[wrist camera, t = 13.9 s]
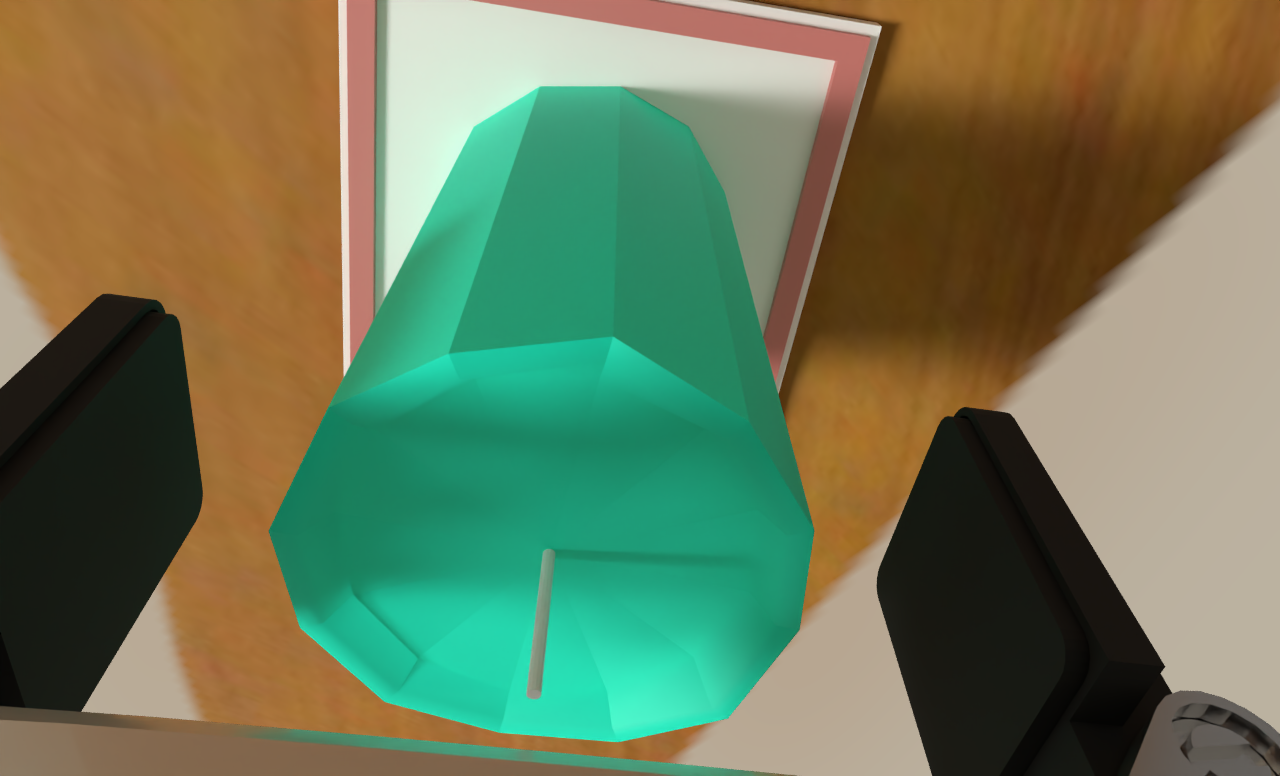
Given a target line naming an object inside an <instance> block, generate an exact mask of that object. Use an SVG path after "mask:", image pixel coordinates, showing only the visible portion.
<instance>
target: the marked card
mask: <svg viewBox="0 0 1280 776" xmlns="http://www.w3.org/2000/svg"><path fill="white" fill-rule="evenodd" d="M338 5H339V74H340V143H341V212H342V281H343V350H344V376H345V374H346V372H347V370H348V368H349V367H350V365H351V363H352V361H353V359H354V357H355V355H356V353H357V351H358V349H359V347H360V345H361V343H362V341H363V339H364V338H365V336H366V334H367V332H368V330H369V328H370V326H371V324H372V322H373V320H374V318H375V316H376V314H377V312H378V311H379V309H380V307H381V305H382V303H383V301H384V299H385V297H386V295H387V293H388V291H389V289H390V287H391V285H392V283H393V282H394V280H395V278H396V276H397V274H398V272H399V270H400V268H401V266H402V264H403V262H404V260H405V258H406V256H407V255H408V253H409V251H410V249H411V247H412V245H413V243H414V241H415V239H416V237H417V235H418V233H419V231H420V229H421V227H422V226H423V224H424V222H425V220H426V218H427V216H428V214H429V212H430V210H431V208H432V206H433V204H434V202H435V200H436V199H437V197H438V195H439V193H440V191H441V189H442V187H443V185H444V183H445V181H446V179H447V177H448V175H449V173H450V171H451V170H452V168H453V166H454V164H455V162H456V160H457V158H458V156H459V154H460V152H461V150H462V148H463V146H464V144H465V143H466V141H467V139H468V137H469V135H470V133H471V131H472V129H473V127H474V126H476V125H477V124H479V123H481V122H482V121H484V120H485V119H487V118H489V117H490V116H492V115H494V114H495V113H497V112H499V111H500V110H502V109H503V108H505V107H507V106H508V105H510V104H512V103H513V102H515V101H517V100H518V99H520V98H522V97H523V96H525V95H526V94H528V93H530V92H531V91H533V90H535V89H536V88H538V87H540V86H621V87H623V88H624V89H626V90H628V91H629V92H631V93H633V94H635V95H636V96H638V97H640V98H641V99H643V100H645V101H646V102H648V103H650V104H651V105H653V106H655V107H657V108H658V109H660V110H662V111H663V112H665V113H667V114H668V115H670V116H672V117H674V118H675V119H677V120H679V121H680V122H682V123H684V124H685V125H687V126H689V127H690V129H691V131H692V133H693V135H694V137H695V138H696V140H697V142H698V144H699V146H700V148H701V149H702V151H703V153H704V155H705V157H706V159H707V161H708V162H709V164H710V166H711V168H712V170H713V172H714V173H715V175H716V177H717V179H718V181H719V183H720V184H721V186H722V188H723V190H724V192H725V195H726V199H727V202H728V206H729V210H730V214H731V218H732V221H733V225H734V229H735V233H736V236H737V240H738V244H739V248H740V252H741V255H742V259H743V263H744V267H745V270H746V274H747V278H748V282H749V286H750V289H751V293H752V297H753V301H754V304H755V308H756V312H757V316H758V320H759V323H760V327H761V331H762V335H763V338H764V342H765V346H766V350H767V354H768V357H769V361H770V365H771V369H772V372H773V376H774V380H775V384H776V388H777V391H778V394H779V391H780V387H781V383H782V380H783V376H784V373H785V369H786V366H787V362H788V359H789V355H790V351H791V348H792V344H793V341H794V337H795V334H796V330H797V326H798V323H799V319H800V316H801V312H802V309H803V305H804V302H805V298H806V294H807V291H808V287H809V284H810V280H811V277H812V273H813V270H814V266H815V262H816V259H817V255H818V252H819V248H820V245H821V241H822V238H823V234H824V230H825V227H826V223H827V220H828V216H829V213H830V209H831V205H832V202H833V198H834V195H835V191H836V188H837V184H838V181H839V177H840V173H841V170H842V166H843V163H844V159H845V156H846V152H847V149H848V145H849V141H850V138H851V134H852V131H853V127H854V124H855V120H856V117H857V113H858V109H859V106H860V102H861V99H862V95H863V92H864V88H865V85H866V81H867V77H868V74H869V70H870V67H871V63H872V60H873V56H874V52H875V49H876V45H877V42H878V38H879V35H880V31H881V28H882V26H881V25H879V24H878V23H876V22H871V21H865V20H859V19H853V18H847V17H841V16H835V15H830V14H824V13H818V12H812V11H806V10H800V9H794V8H789V7H783V6H777V5H771V4H765V3H759V2H753V1H748V0H338Z"/></svg>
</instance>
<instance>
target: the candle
mask: <svg viewBox="0 0 1280 776" xmlns="http://www.w3.org/2000/svg"><path fill="white" fill-rule="evenodd" d="M269 534H270V537H271V540H272V543H273V546H274V549H275V552H276V555H277V558H278V561H279V564H280V567H281V571H282V574H283V577H284V580H285V583H286V586H287V589H288V592H289V595H290V598H291V601H292V604H293V607H294V610H295V614H296V617H297V620H298V623H299V626H300V628H301V629H302V630H303V631H304V632H306V633H307V634H308V635H309V636H310V637H311V638H312V639H314V640H315V641H316V642H317V643H318V644H319V645H320V646H322V647H323V648H324V649H325V650H326V651H327V652H328V653H330V654H331V655H332V656H333V657H334V658H335V659H336V660H338V661H339V662H340V663H341V664H342V665H343V666H344V667H346V668H347V669H348V670H349V671H350V672H351V673H352V674H354V675H355V676H356V677H357V678H358V679H359V680H360V681H362V682H363V683H364V684H365V685H366V686H367V687H368V688H370V689H371V690H372V691H373V692H374V693H375V694H376V695H378V696H379V697H380V698H381V699H382V700H383V701H384V702H387V703H391V704H395V705H398V706H402V707H406V708H410V709H413V710H417V711H421V712H424V713H428V714H432V715H436V716H439V717H443V718H447V719H451V720H454V721H458V722H462V723H466V724H469V725H473V726H477V727H480V728H484V729H488V730H492V731H495V732H499V733H511V734H524V735H536V736H549V737H561V738H574V739H586V740H599V741H611V742H621V741H626V740H630V739H635V738H640V737H644V736H649V735H654V734H658V733H663V732H668V731H672V730H677V729H682V728H686V727H691V726H696V725H700V724H705V723H710V722H714V721H719V720H724V719H728V718H729V716H730V715H731V714H732V713H733V711H734V710H735V709H736V708H737V707H738V705H739V704H740V703H741V701H742V700H743V699H744V698H745V697H746V695H747V694H748V693H749V692H750V690H751V689H752V688H753V687H754V686H755V684H756V683H757V682H758V681H759V679H760V678H761V677H762V676H763V674H764V673H765V672H766V671H767V669H768V668H769V667H770V666H771V665H772V663H773V662H774V661H775V660H776V658H777V657H778V656H779V655H780V653H781V652H782V651H783V650H784V648H785V647H786V646H787V645H788V644H789V642H790V641H791V640H792V639H793V637H794V636H795V635H796V634H797V632H798V631H799V630H800V623H801V616H802V610H803V603H804V596H805V590H806V583H807V576H808V570H809V563H810V556H811V550H812V543H813V536H814V527H813V524H812V520H811V516H810V512H809V508H808V505H807V501H806V497H805V493H804V490H803V486H802V482H801V478H800V474H799V471H798V467H797V463H796V459H795V456H794V452H793V448H792V444H791V440H790V437H789V433H788V429H787V425H786V422H785V418H784V414H783V410H782V406H781V403H780V399H779V395H778V391H777V388H776V384H775V380H774V376H773V372H772V369H771V365H770V361H769V357H768V354H767V350H766V346H765V342H764V338H763V335H762V331H761V327H760V323H759V320H758V316H757V312H756V308H755V304H754V301H753V297H752V293H751V289H750V286H749V282H748V278H747V274H746V270H745V267H744V263H743V259H742V255H741V252H740V248H739V244H738V240H737V236H736V233H735V229H734V225H733V221H732V218H731V214H730V210H729V206H728V202H727V199H726V195H725V192H724V190H723V188H722V186H721V184H720V183H719V181H718V179H717V177H716V175H715V173H714V172H713V170H712V168H711V166H710V164H709V162H708V161H707V159H706V157H705V155H704V153H703V151H702V149H701V148H700V146H699V144H698V142H697V140H696V138H695V137H694V135H693V133H692V131H691V129H690V127H689V126H687V125H685V124H684V123H682V122H680V121H679V120H677V119H675V118H674V117H672V116H670V115H668V114H667V113H665V112H663V111H662V110H660V109H658V108H657V107H655V106H653V105H651V104H650V103H648V102H646V101H645V100H643V99H641V98H640V97H638V96H636V95H635V94H633V93H631V92H629V91H628V90H626V89H624V88H623V87H621V86H540V87H538V88H536V89H535V90H533V91H531V92H530V93H528V94H526V95H525V96H523V97H522V98H520V99H518V100H517V101H515V102H513V103H512V104H510V105H508V106H507V107H505V108H503V109H502V110H500V111H499V112H497V113H495V114H494V115H492V116H490V117H489V118H487V119H485V120H484V121H482V122H481V123H479V124H477V125H476V126H474V127H473V129H472V131H471V133H470V135H469V137H468V139H467V141H466V143H465V144H464V146H463V148H462V150H461V152H460V154H459V156H458V158H457V160H456V162H455V164H454V166H453V168H452V170H451V171H450V173H449V175H448V177H447V179H446V181H445V183H444V185H443V187H442V189H441V191H440V193H439V195H438V197H437V199H436V200H435V202H434V204H433V206H432V208H431V210H430V212H429V214H428V216H427V218H426V220H425V222H424V224H423V226H422V227H421V229H420V231H419V233H418V235H417V237H416V239H415V241H414V243H413V245H412V247H411V249H410V251H409V253H408V255H407V256H406V258H405V260H404V262H403V264H402V266H401V268H400V270H399V272H398V274H397V276H396V278H395V280H394V282H393V283H392V285H391V287H390V289H389V291H388V293H387V295H386V297H385V299H384V301H383V303H382V305H381V307H380V309H379V311H378V312H377V314H376V316H375V318H374V320H373V322H372V324H371V326H370V328H369V330H368V332H367V334H366V336H365V338H364V339H363V341H362V343H361V345H360V347H359V349H358V351H357V353H356V355H355V357H354V359H353V361H352V363H351V365H350V367H349V368H348V370H347V372H346V374H345V376H344V378H343V380H342V382H341V384H340V386H339V388H338V390H337V392H336V394H335V395H334V397H333V399H332V401H331V403H330V405H329V407H328V409H327V411H326V413H325V415H324V417H323V419H322V421H321V424H320V426H319V428H318V430H317V432H316V434H315V436H314V438H313V440H312V442H311V444H310V446H309V448H308V450H307V453H306V455H305V457H304V459H303V461H302V463H301V465H300V467H299V469H298V471H297V473H296V475H295V477H294V479H293V482H292V484H291V486H290V488H289V490H288V492H287V494H286V496H285V498H284V500H283V502H282V504H281V506H280V508H279V511H278V513H277V515H276V517H275V519H274V521H273V523H272V525H271V527H270V529H269Z"/></svg>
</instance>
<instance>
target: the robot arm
mask: <svg viewBox="0 0 1280 776" xmlns="http://www.w3.org/2000/svg"><path fill="white" fill-rule="evenodd" d="M202 497H203V490H202V481H201V474H200V467H199V459H198V452H197V445H196V437H195V430H194V423H193V416H192V408H191V401H190V394H189V386H188V379H187V372H186V364H185V357H184V350H183V342H182V335H181V328H180V324H179V321H178V319H177V317H176V316H174V315H172V314H165V310H164V308H163V306H162V304H161V303H160V302H158V301H157V300H152V299H144V298H137V297H129V296H122V295H114V294H102V295H101V296H99V297H98V298H96V299H95V300H94V301H93V302H92V303H91V304H90V305H89V306H88V307H87V308H86V309H85V310H84V311H83V312H81V313H80V314H79V315H78V316H77V317H76V318H75V319H74V320H73V321H72V322H71V323H70V324H69V325H68V326H67V327H66V328H64V329H63V330H62V331H61V332H60V333H59V334H58V335H57V336H56V337H55V338H54V339H53V340H52V341H51V342H50V343H48V344H47V345H46V346H45V347H44V348H43V349H42V350H41V351H40V352H39V353H38V354H37V355H36V356H35V357H34V358H33V359H32V360H30V361H29V362H28V363H27V364H26V365H25V366H24V367H23V368H22V369H21V370H20V371H19V372H18V373H17V374H15V375H14V376H13V377H12V378H11V379H10V380H9V381H8V382H7V383H6V384H5V385H4V386H3V387H2V388H1V389H0V776H795V775H784V774H775V773H764V772H754V771H744V770H734V769H724V768H714V767H703V766H693V765H683V764H672V763H661V762H651V761H640V760H629V759H618V758H608V757H597V756H586V755H576V754H565V753H554V752H543V751H532V750H521V749H510V748H499V747H489V746H478V745H467V744H456V743H445V742H434V741H423V740H412V739H401V738H389V737H378V736H366V735H355V734H343V733H332V732H320V731H309V730H297V729H286V728H274V727H263V726H251V725H240V724H228V723H217V722H205V721H194V720H182V719H169V718H159V717H145V716H132V715H118V714H104V713H90V712H81V711H82V709H83V708H84V706H85V704H86V703H87V701H88V699H89V698H90V696H91V694H92V692H93V691H94V689H95V688H96V686H97V684H98V683H99V681H100V680H101V678H102V676H103V675H104V673H105V671H106V669H107V668H108V666H109V664H110V663H111V661H112V659H113V658H114V656H115V655H116V653H117V651H118V650H119V648H120V646H121V645H122V643H123V641H124V640H125V638H126V636H127V634H128V633H129V631H130V629H131V628H132V626H133V625H134V623H135V621H136V620H137V618H138V616H139V615H140V613H141V611H142V610H143V608H144V606H145V605H146V603H147V601H148V600H149V598H150V597H151V595H152V593H153V592H154V590H155V588H156V587H157V585H158V583H159V582H160V580H161V578H162V577H163V575H164V573H165V572H166V570H167V568H168V567H169V565H170V563H171V562H172V560H173V558H174V557H175V555H176V553H177V552H178V550H179V548H180V547H181V545H182V543H183V542H184V540H185V538H186V537H187V535H188V533H189V532H190V530H191V528H192V527H193V525H194V523H195V522H196V520H197V518H198V515H199V512H200V509H201V505H202ZM877 594H878V598H879V601H880V605H881V608H882V611H883V615H884V618H885V621H886V625H887V628H888V631H889V635H890V637H891V641H892V644H893V648H894V651H895V654H896V658H897V661H898V664H899V668H900V671H901V674H902V677H903V681H904V684H905V687H906V691H907V694H908V697H909V701H910V704H911V707H912V710H913V714H914V717H915V720H916V723H917V727H918V730H919V733H920V737H921V740H922V743H923V747H924V750H925V753H926V757H927V760H928V763H929V766H930V769H931V773H932V776H1280V734H1279V733H1278V732H1277V731H1276V730H1275V729H1274V728H1273V727H1272V726H1271V725H1269V724H1268V723H1266V722H1265V721H1263V720H1262V719H1260V718H1259V717H1258V716H1256V715H1255V714H1253V713H1252V712H1250V711H1248V710H1247V709H1245V708H1243V707H1241V706H1239V705H1237V704H1235V703H1233V702H1231V701H1228V700H1227V699H1225V698H1222V697H1219V696H1215V695H1212V694H1208V693H1204V692H1201V691H1179V692H1175V693H1173V694H1172V692H1171V690H1170V689H1169V687H1168V686H1167V684H1166V682H1165V681H1164V679H1163V677H1162V675H1161V674H1160V673H1161V672H1162V670H1163V669H1164V668H1165V666H1164V664H1163V662H1162V661H1161V659H1160V657H1159V656H1158V654H1157V652H1156V651H1155V649H1154V647H1153V646H1152V644H1151V643H1150V641H1149V639H1148V638H1147V636H1146V634H1145V633H1144V631H1143V629H1142V628H1141V626H1140V625H1139V623H1138V621H1137V620H1136V618H1135V616H1134V615H1133V613H1132V612H1131V610H1130V608H1129V606H1128V605H1127V603H1126V601H1125V600H1124V598H1123V596H1122V595H1121V593H1120V592H1119V590H1118V588H1117V587H1116V585H1115V584H1114V582H1113V580H1112V578H1111V577H1110V575H1109V573H1108V572H1107V570H1106V568H1105V567H1104V565H1103V564H1102V562H1101V560H1100V559H1099V557H1098V555H1097V554H1096V552H1095V550H1094V549H1093V547H1092V545H1091V544H1090V542H1089V541H1088V539H1087V537H1086V536H1085V534H1084V533H1083V531H1082V529H1081V527H1080V526H1079V524H1078V522H1077V521H1076V519H1075V518H1074V516H1073V514H1072V513H1071V511H1070V509H1069V508H1068V506H1067V504H1066V503H1065V501H1064V499H1063V498H1062V496H1061V495H1060V493H1059V491H1058V490H1057V488H1056V486H1055V485H1054V483H1053V481H1052V480H1051V478H1050V476H1049V475H1048V473H1047V472H1046V470H1045V468H1044V467H1043V465H1042V463H1041V462H1040V460H1039V458H1038V457H1037V455H1036V453H1035V452H1034V450H1033V449H1032V447H1031V445H1030V444H1029V442H1028V440H1027V439H1026V437H1025V435H1024V434H1023V432H1022V430H1021V429H1020V427H1019V426H1018V424H1017V422H1016V421H1015V419H1014V418H1013V417H1012V415H1011V414H1009V413H1005V412H999V411H991V410H983V409H976V408H968V407H964V408H961V409H960V410H959V411H958V412H957V413H956V414H955V416H954V417H950V416H947V417H944V419H943V420H942V421H941V422H940V424H939V426H938V428H937V431H936V433H935V435H934V438H933V440H932V443H931V445H930V447H929V450H928V452H927V455H926V457H925V459H924V462H923V464H922V467H921V469H920V471H919V474H918V476H917V479H916V481H915V483H914V486H913V488H912V491H911V493H910V495H909V498H908V500H907V502H906V505H905V507H904V510H903V512H902V514H901V517H900V519H899V522H898V524H897V526H896V529H895V531H894V534H893V536H892V539H891V541H890V543H889V546H888V548H887V550H886V553H885V555H884V558H883V560H882V562H881V565H880V568H879V571H878V576H877Z"/></svg>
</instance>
